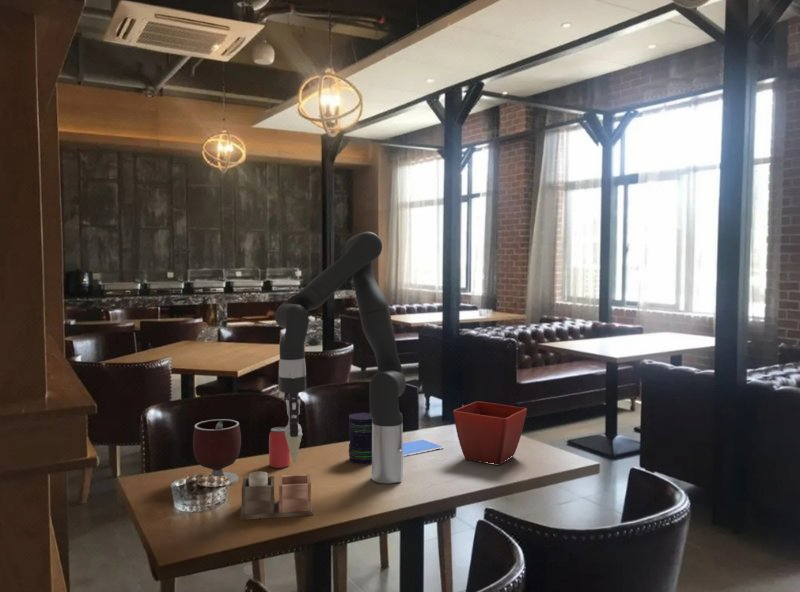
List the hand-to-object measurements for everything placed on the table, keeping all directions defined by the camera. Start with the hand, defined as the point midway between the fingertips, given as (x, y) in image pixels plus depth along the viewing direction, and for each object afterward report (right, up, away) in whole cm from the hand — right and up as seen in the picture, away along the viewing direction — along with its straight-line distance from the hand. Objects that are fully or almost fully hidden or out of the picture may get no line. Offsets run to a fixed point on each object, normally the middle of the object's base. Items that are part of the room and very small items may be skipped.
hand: (293, 433), depth 184 cm
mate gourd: (-24, -17, +10) cm, 31 cm away
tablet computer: (+34, -16, +45) cm, 59 cm away
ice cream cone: (0, -9, 0) cm, 9 cm away
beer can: (-9, -16, +25) cm, 31 cm away
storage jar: (+18, -16, +32) cm, 40 cm away
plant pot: (+60, -16, +35) cm, 72 cm away
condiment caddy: (-2, -18, -13) cm, 22 cm away
